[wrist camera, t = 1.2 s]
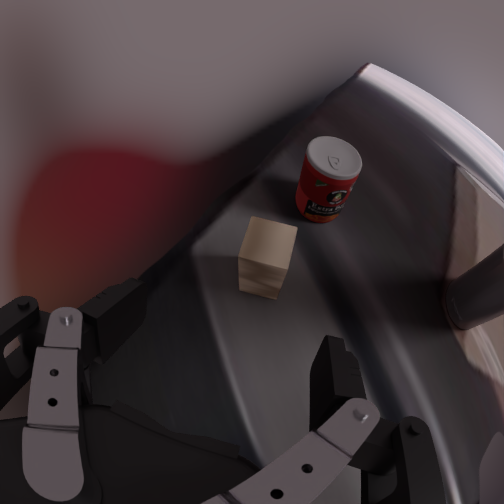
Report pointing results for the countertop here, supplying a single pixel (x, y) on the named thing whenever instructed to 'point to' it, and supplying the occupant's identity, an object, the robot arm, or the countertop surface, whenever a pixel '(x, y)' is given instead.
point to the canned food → (326, 178)
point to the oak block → (265, 257)
